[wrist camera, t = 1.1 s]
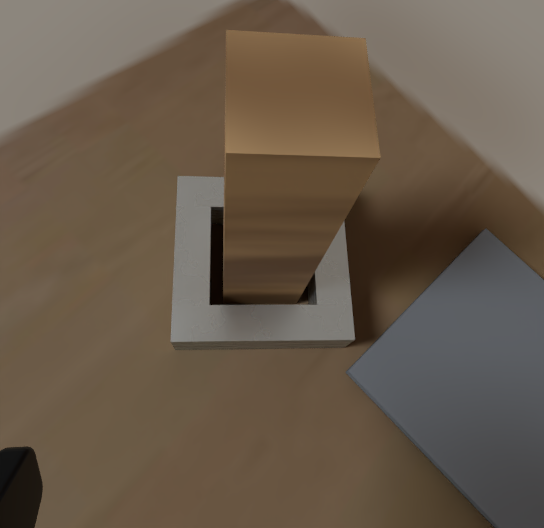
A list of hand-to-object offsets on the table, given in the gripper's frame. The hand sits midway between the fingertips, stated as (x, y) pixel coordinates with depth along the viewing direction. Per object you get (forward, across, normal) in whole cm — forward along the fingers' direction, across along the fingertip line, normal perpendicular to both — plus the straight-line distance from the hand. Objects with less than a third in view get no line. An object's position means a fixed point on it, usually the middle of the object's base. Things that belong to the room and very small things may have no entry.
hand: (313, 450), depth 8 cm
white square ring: (+15, 0, +4) cm, 16 cm away
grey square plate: (+11, -12, +8) cm, 18 cm away
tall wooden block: (+15, 0, +4) cm, 16 cm away
